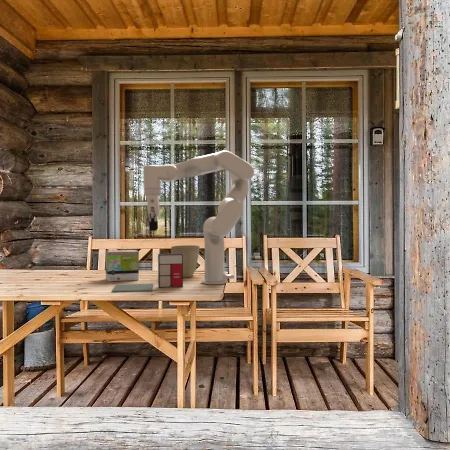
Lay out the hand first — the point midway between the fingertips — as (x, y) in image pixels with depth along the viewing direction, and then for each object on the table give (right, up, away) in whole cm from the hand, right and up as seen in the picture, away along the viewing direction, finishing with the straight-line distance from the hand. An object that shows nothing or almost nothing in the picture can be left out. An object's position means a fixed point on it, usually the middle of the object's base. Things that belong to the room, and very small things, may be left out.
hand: (153, 230), depth 202 cm
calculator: (+8, -26, -1) cm, 27 cm away
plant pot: (+12, -25, +31) cm, 41 cm away
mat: (-8, -26, -5) cm, 28 cm away
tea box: (-19, -25, +20) cm, 37 cm away
